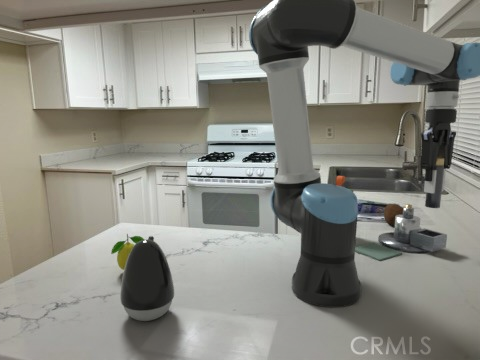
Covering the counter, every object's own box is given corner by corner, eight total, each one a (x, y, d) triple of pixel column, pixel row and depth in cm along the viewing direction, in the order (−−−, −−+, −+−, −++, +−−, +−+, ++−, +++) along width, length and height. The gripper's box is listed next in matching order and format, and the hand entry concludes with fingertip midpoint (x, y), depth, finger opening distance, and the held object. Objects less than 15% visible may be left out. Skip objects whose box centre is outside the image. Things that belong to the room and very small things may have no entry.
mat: (379, 260, 98) (379, 259, 98) (350, 249, 106) (350, 248, 106) (402, 253, 103) (402, 252, 103) (373, 243, 111) (373, 242, 111)
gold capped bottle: (435, 208, 101) (439, 159, 98) (422, 206, 104) (426, 158, 102) (442, 207, 103) (447, 158, 100) (429, 204, 106) (434, 157, 104)
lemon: (147, 268, 92) (146, 231, 91) (135, 278, 87) (133, 238, 85) (125, 265, 94) (123, 228, 93) (111, 274, 89) (109, 235, 87)
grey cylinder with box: (432, 252, 101) (435, 214, 99) (389, 238, 113) (391, 203, 111) (446, 247, 104) (449, 210, 103) (402, 234, 116) (405, 201, 114)
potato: (391, 221, 137) (393, 200, 135) (412, 228, 128) (414, 206, 126) (376, 223, 134) (378, 202, 132) (397, 230, 125) (399, 208, 123)
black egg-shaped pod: (178, 300, 76) (176, 231, 74) (170, 328, 66) (168, 249, 63) (129, 300, 76) (126, 231, 73) (114, 329, 66) (109, 250, 63)
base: (413, 256, 101) (414, 253, 101) (367, 240, 114) (367, 237, 114) (445, 246, 109) (446, 243, 109) (398, 232, 123) (399, 229, 122)
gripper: (437, 107, 91) (429, 197, 95) (471, 108, 100) (463, 190, 104) (410, 108, 98) (403, 192, 102) (444, 109, 106) (437, 186, 110)
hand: (433, 191), depth 103 cm, fingers closed on gold capped bottle, 4 cm apart
